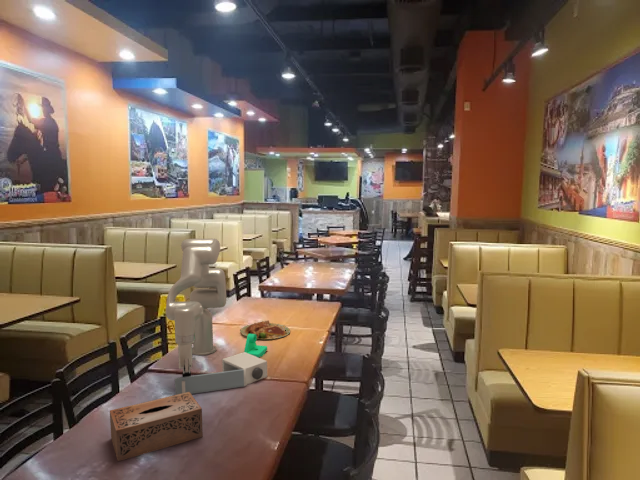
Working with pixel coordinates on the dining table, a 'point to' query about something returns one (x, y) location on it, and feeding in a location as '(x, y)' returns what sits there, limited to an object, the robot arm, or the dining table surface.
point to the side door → (210, 382)
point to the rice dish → (265, 330)
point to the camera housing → (246, 366)
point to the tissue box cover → (155, 425)
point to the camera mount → (254, 346)
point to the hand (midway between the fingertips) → (186, 381)
